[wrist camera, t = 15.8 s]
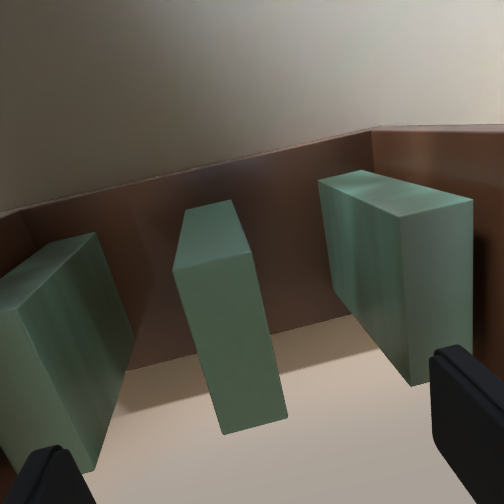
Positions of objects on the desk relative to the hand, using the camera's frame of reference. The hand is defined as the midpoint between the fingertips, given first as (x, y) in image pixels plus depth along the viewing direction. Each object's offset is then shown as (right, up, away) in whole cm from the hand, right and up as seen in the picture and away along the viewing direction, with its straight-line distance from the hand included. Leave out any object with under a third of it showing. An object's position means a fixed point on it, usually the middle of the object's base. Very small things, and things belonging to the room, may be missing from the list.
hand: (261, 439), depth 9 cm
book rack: (-2, +4, +13) cm, 14 cm away
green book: (-2, +4, +12) cm, 13 cm away
